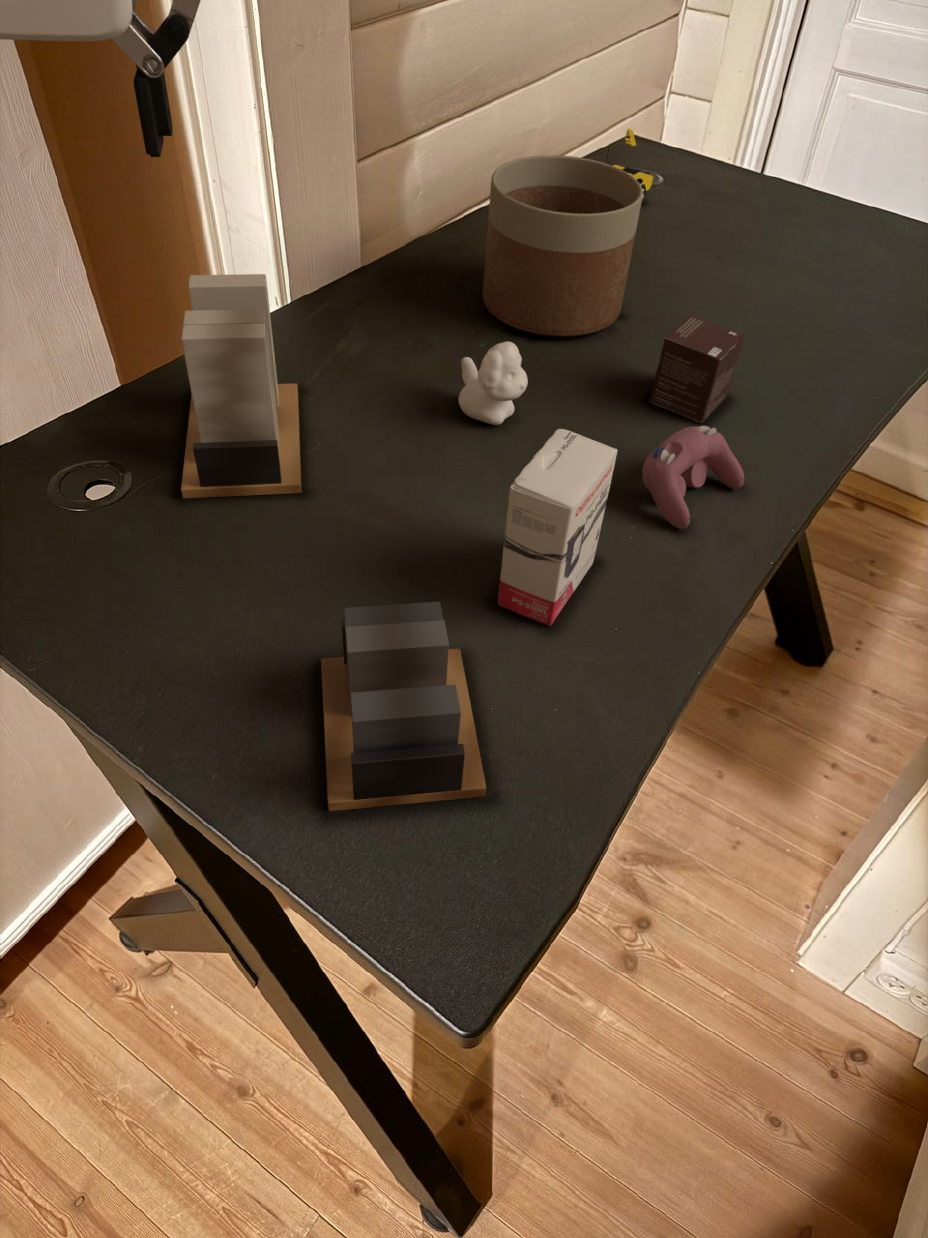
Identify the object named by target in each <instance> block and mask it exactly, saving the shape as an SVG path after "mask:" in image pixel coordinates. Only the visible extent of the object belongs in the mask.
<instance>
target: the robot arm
mask: <svg viewBox="0 0 928 1238" xmlns="http://www.w3.org/2000/svg"><path fill="white" fill-rule="evenodd" d="M200 4H201V0H172V3H171V6H170V9H169V12H168V14H167V16H166V17H165V18H164V20H163V21H162V23H161V24H160V26H159V27H158V28H157V30H156V31H153V29H152V28H151V27H150V26H149V25H148V23H146V22H145V20H144V19H143V18H142V17H141V16H140V14H139V13H137V11H136V10H135V9H136V6H137V0H0V40H2V41H3V40H4V41H5V40H6V41H9V40H10V41H45V42H103V41H110V40H112V41H113V42H114V43H115V44H116V45H117V46H118V47H119V48H120V49H121V50H122V51H123V53H124V54H125V55H126V56H127V57H128V58H129V59H130V60H131V61H132V62H133V64H135V69H136V71H135V74H134V77H133V89H134V94H135V100H136V105H137V111H138V116H139V122H140V127H141V132H142V138H143V145H144V151H145V154H146V155H149V157H150V158H161V156H162V151H163V147H164V142H165V138H164V137H172V136H173V128H174V127H173V120H172V114H171V108H170V102H169V93H168V87H167V83H166V82H167V81H166V75H165V70H166V68H167V67H168V66H169V64H170V63H171V62H172V61H173V59H174V58H175V57H176V56H177V54H178V53H179V52H180V50H181V49H182V48H183V46H184V45H185V44H186V43H187V42H188V40H189V37H190V34H191V31H192V29H193V25H194V22H195V19H196V16H197V13H198V9H199V6H200Z"/></svg>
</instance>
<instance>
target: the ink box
mask: <svg viewBox="0 0 928 1238" xmlns="http://www.w3.org/2000/svg"><path fill="white" fill-rule="evenodd" d="M617 455H618V448H616V447H612V446H611V445H610V446H609V445H607V444H605V443H602V442H599V441H597V440H594V439H592V438H589V437H586V436H584V435H581V434H579V433H576V432H574V431H571V430H568V429H565V428H557V429H556V430H555V431H554V433H553V434H552V435H551V436H550V437H549V438H548V439H547V440H546V442H545V443H544V444H543V446H542V447H541V448H540V449H539V450H538V451H537V452H536V453H535V454H534V456H533V457H532V459H531V460H530V461H529V462H528V463H527V464H526V465H525V466H524V467H523V469H522V470H521V472H520V473H519V474H518V476H516V477H515V478H514V481H513V482H512V483H511V485H510V486H509V492H508V502H507V508H506V509H507V510H506V520H505V529H504V540H503V547H502V548H503V549H502V558H501V565H500V568H501V569H500V577H499V585H498V596H497V604H498V606H500V607H502V608H504V609H507V610H509V611H512V612H514V613H516V614H518V615H521V616H523V617H526V618H528V619H531V620H534V621H536V622H539V623H541V624H545V625H546V626H549V627H551V626H552V625H553V624H554V622H555V621H556V619H557V617H558V616H559V614H560V613H561V611H562V610H563V608H564V607H565V605H566V604H567V602H568V601H569V600H570V598H571V597H572V595H573V594H574V592H575V591H576V589H577V588H578V586H579V585H580V584H581V582H582V580H583V579H584V577H585V576H586V574H587V573H588V571H590V568H591V567H592V565H593V563H594V561H595V556H596V551H597V547H598V543H599V539H600V534H601V531H602V530H601V529H602V524H603V521H604V516H605V511H606V507H607V501H608V498H609V493H610V490H611V489H610V488H611V484H612V480H613V474H614V470H615V465H616V461H617Z"/></svg>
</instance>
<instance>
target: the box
mask: <svg viewBox="0 0 928 1238" xmlns="http://www.w3.org/2000/svg"><path fill="white" fill-rule="evenodd" d="M745 338H746V335H745V333H743V332H741V331H738V330H735V329H732V328H729V327H727V326H723V325H721V324H718V323H715V322H712V321H709V320H707V319H704V318H701V317H699V316H696V315H694V314H690V315H688V317H687V318H685V319H684V320H683V321H682V322H681V323H680V324H678V325H677V326H676V327H674V329H672V330H671V331H670V332H669V333H668V334H667V335H665V336H664V338H663V339H664V340H663V345H662V348H661V351H660V356H659V360H658V364H657V367H656V372H655V376H654V380H653V384H652V389H651V394H650V395H649V396H650V397H649V402H650V403H651V404H652V405H655V406H657V407H660V408H662V409H666V410H667V411H670V412H673V413H676V414H678V415H681V416H682V417H685V418H687V419H689V420H692V421H694V422H696V423H700V424H703V423H704V422H705V421H706V420H707V419H708V418H709V416H710V415H712V413H713V412H714V411H715V410H716V409H717V408H718V407H719V406H720V405H721V404H723V402H724V401H725V400H726V398H727V397H728V393H729V390H730V386H731V384H732V380H733V377H734V374H735V371H736V367H737V363H738V360H739V357H740V354H741V351H742V347H743V344H744V340H745Z"/></svg>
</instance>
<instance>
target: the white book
mask: <svg viewBox="0 0 928 1238" xmlns="http://www.w3.org/2000/svg"><path fill="white" fill-rule="evenodd" d="M187 288H188V295H189V298H190V299H189V300H190V305H191V311H192V310H245V309H265V310H266V319H267V328H268V337H269V346H270V355H271V364H272V373H273V382H274V390H275V399H276V407H279V392H278V384H279V383H278V374H277V365H276V356H275V347H274V346H275V345H274V339H273V338H274V337H273V336H274V335H273V328H272V320H271V318H272V317H271V309H270V299H269V292H268V291H269V290H268V283H267V274H266V273H252V274H251V273H249V274H248V273H246V274H240V273H239V274H189V278H188V287H187Z"/></svg>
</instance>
